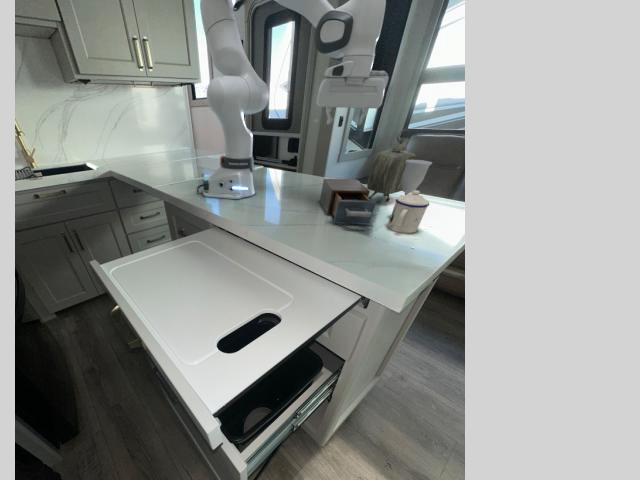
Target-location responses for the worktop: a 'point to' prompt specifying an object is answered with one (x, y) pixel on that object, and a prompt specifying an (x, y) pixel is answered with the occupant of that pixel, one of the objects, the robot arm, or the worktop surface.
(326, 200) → the cabinet
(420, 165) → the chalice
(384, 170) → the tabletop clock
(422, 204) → the teacup with lid
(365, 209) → the drawer
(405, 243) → the worktop surface
